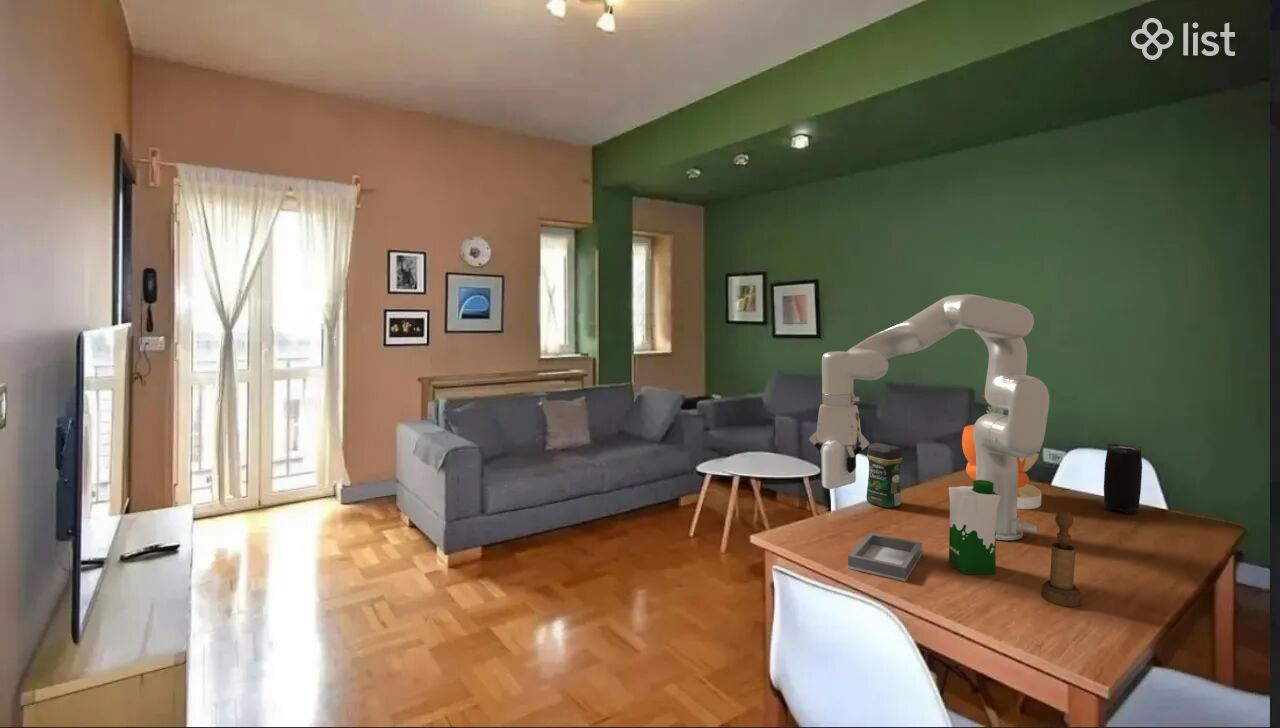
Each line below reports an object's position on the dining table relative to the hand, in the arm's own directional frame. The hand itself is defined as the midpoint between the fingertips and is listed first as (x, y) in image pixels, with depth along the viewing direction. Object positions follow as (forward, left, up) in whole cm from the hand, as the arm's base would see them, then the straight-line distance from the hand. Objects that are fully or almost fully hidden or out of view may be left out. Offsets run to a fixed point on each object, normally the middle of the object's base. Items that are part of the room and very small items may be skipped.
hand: (838, 469), depth 155 cm
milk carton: (-31, 0, -19) cm, 36 cm away
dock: (-14, +7, -19) cm, 24 cm away
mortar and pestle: (-48, +7, -19) cm, 52 cm away
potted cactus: (-31, -62, -19) cm, 71 cm away
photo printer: (0, 0, -4) cm, 4 cm away
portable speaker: (-61, -67, -19) cm, 92 cm away
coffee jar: (-2, -37, -19) cm, 41 cm away
